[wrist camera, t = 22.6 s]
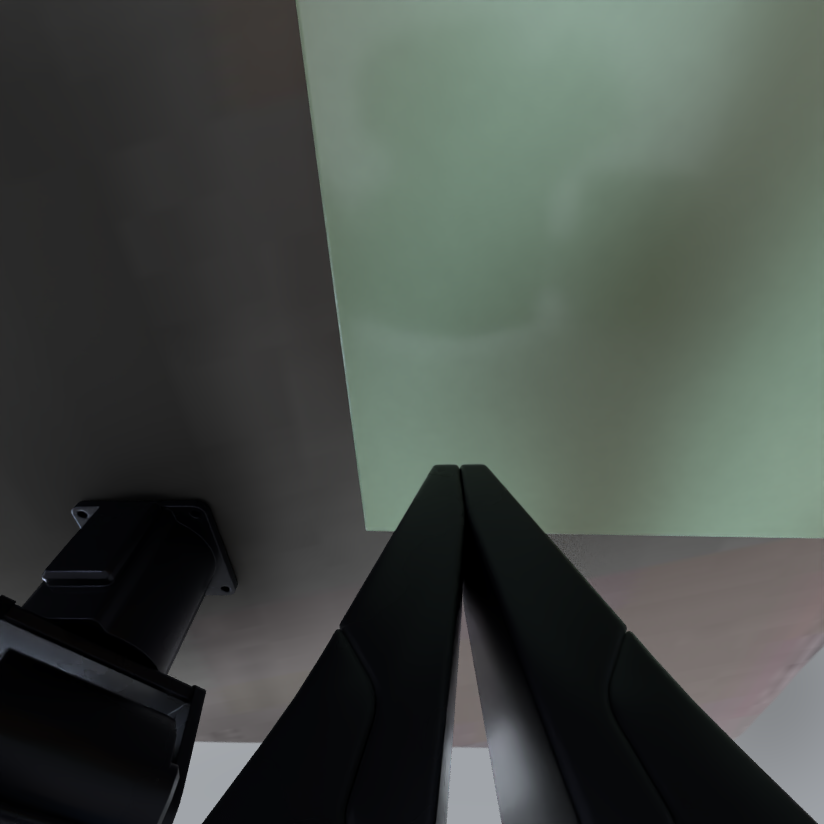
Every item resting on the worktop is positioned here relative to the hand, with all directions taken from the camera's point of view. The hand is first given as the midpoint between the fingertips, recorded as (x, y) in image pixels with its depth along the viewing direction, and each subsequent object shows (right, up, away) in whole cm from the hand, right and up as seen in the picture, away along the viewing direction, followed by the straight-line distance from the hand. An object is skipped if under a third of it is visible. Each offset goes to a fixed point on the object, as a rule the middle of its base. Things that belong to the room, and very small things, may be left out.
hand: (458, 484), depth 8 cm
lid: (+5, +4, +2) cm, 7 cm away
